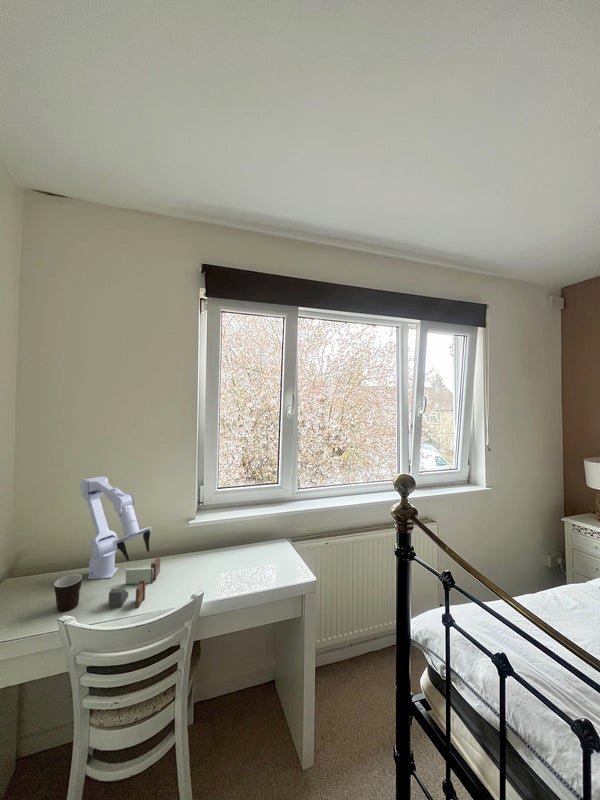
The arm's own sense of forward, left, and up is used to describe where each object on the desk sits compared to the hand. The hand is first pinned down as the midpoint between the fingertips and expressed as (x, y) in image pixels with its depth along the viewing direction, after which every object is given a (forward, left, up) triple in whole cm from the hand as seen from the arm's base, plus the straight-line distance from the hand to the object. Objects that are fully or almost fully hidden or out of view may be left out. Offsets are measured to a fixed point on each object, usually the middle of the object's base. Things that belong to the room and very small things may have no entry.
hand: (138, 555), depth 130 cm
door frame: (+3, +3, -15) cm, 16 cm away
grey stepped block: (-5, -5, -15) cm, 17 cm away
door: (-2, +7, -15) cm, 17 cm away
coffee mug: (-23, -5, -15) cm, 28 cm away
